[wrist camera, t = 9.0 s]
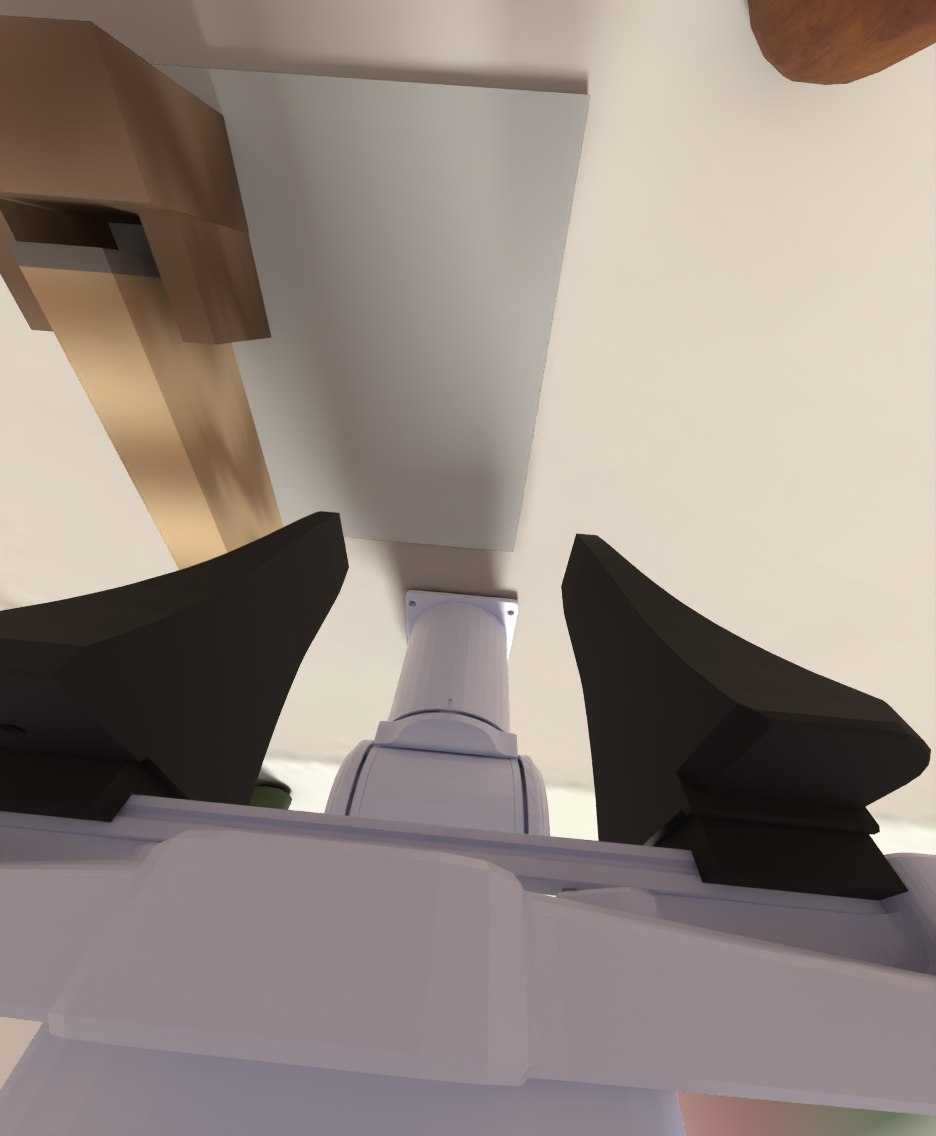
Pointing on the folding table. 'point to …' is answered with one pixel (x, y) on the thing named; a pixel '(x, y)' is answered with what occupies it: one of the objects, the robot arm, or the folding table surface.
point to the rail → (158, 397)
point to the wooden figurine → (840, 36)
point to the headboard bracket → (121, 173)
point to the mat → (397, 291)
